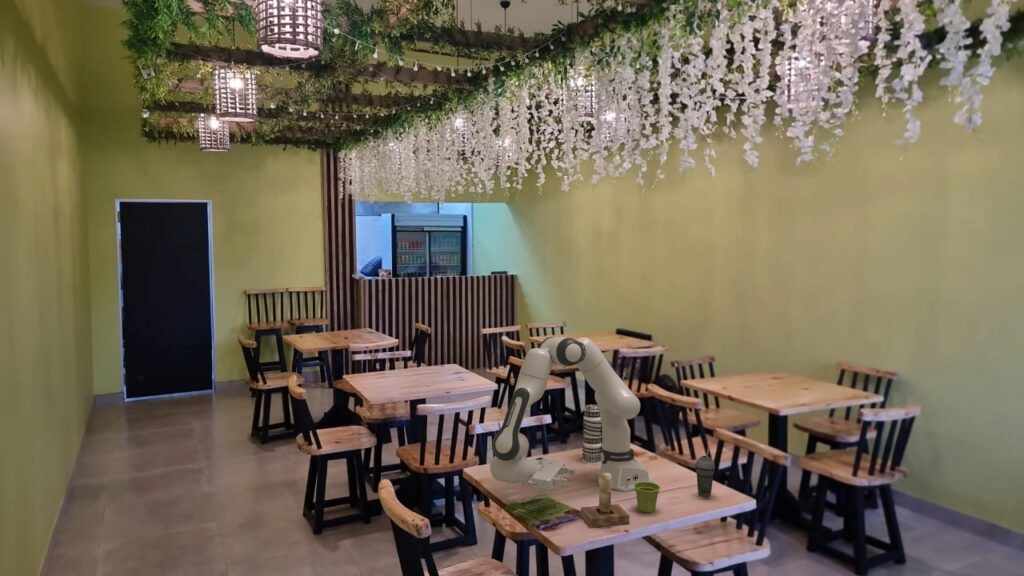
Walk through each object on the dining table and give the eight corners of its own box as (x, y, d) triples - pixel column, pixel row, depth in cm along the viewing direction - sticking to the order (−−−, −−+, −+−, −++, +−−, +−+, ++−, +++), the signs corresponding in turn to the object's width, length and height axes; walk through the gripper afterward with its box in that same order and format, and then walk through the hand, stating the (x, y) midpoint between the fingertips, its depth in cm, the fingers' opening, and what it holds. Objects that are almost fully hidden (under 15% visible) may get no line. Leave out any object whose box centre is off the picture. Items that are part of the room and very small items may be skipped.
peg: (608, 516, 223) (608, 472, 222) (612, 521, 219) (613, 476, 218) (597, 517, 222) (597, 472, 221) (601, 522, 218) (602, 476, 218)
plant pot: (664, 513, 227) (665, 489, 226) (641, 516, 224) (641, 492, 223) (651, 503, 236) (652, 480, 235) (628, 506, 233) (629, 482, 232)
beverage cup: (700, 491, 248) (701, 440, 247) (717, 496, 243) (719, 445, 241) (690, 496, 243) (692, 444, 241) (708, 501, 237) (709, 449, 236)
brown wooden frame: (618, 512, 227) (618, 504, 227) (629, 524, 218) (629, 515, 217) (580, 515, 224) (580, 507, 224) (590, 527, 214) (590, 519, 214)
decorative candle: (605, 464, 278) (606, 407, 277) (585, 465, 277) (586, 408, 275) (598, 457, 287) (599, 402, 286) (579, 458, 286) (579, 403, 284)
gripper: (524, 474, 220) (563, 478, 215) (541, 455, 239) (577, 459, 235) (524, 491, 221) (563, 496, 216) (541, 471, 240) (577, 475, 235)
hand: (570, 476), depth 225 cm, fingers open, 8 cm apart
